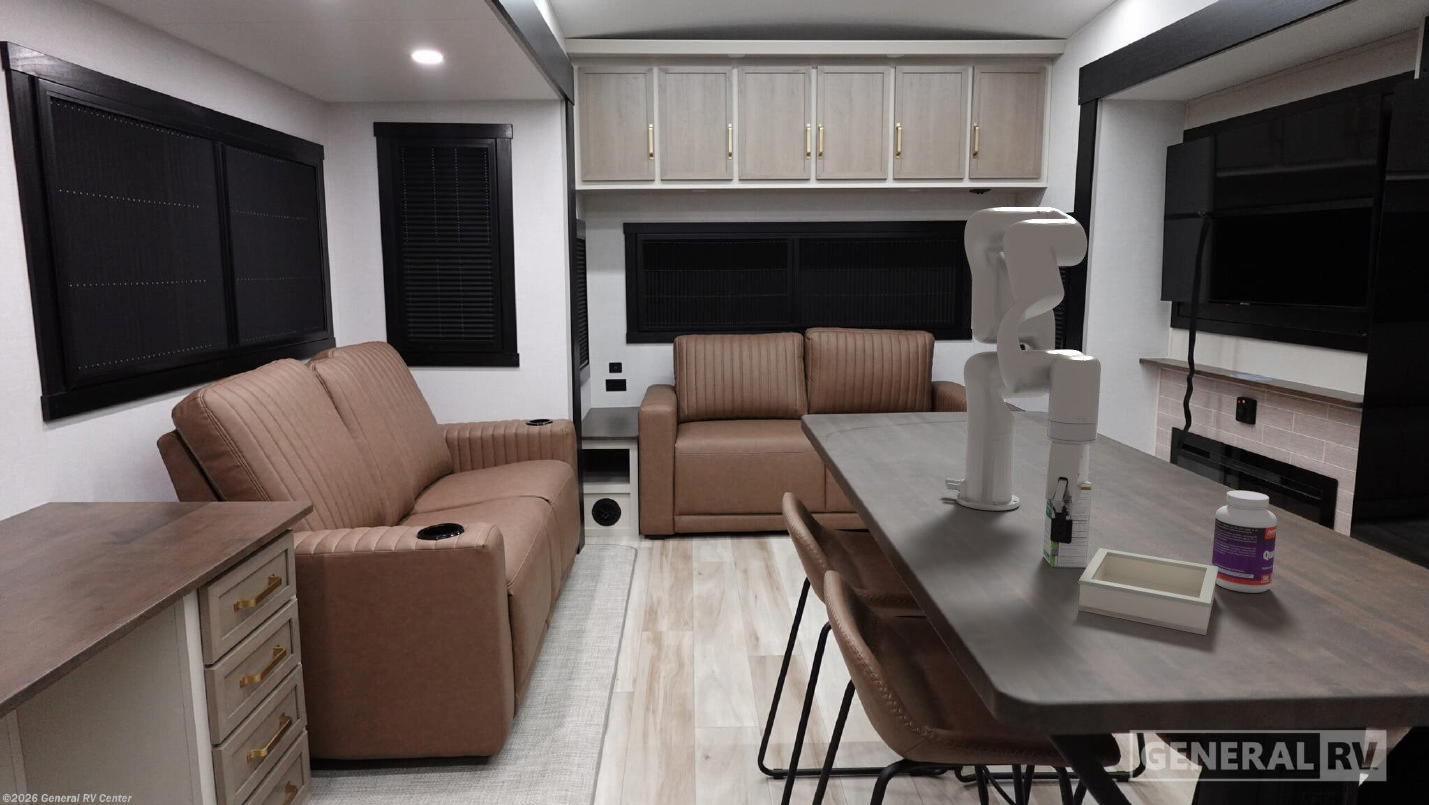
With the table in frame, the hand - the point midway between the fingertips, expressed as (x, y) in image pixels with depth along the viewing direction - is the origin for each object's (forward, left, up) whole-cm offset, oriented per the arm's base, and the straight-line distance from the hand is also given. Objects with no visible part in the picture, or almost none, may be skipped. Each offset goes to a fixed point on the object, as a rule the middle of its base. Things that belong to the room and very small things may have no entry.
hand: (1066, 534), depth 143 cm
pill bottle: (+25, +3, -5) cm, 26 cm away
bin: (+14, -12, -5) cm, 19 cm away
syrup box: (0, 0, -5) cm, 5 cm away
